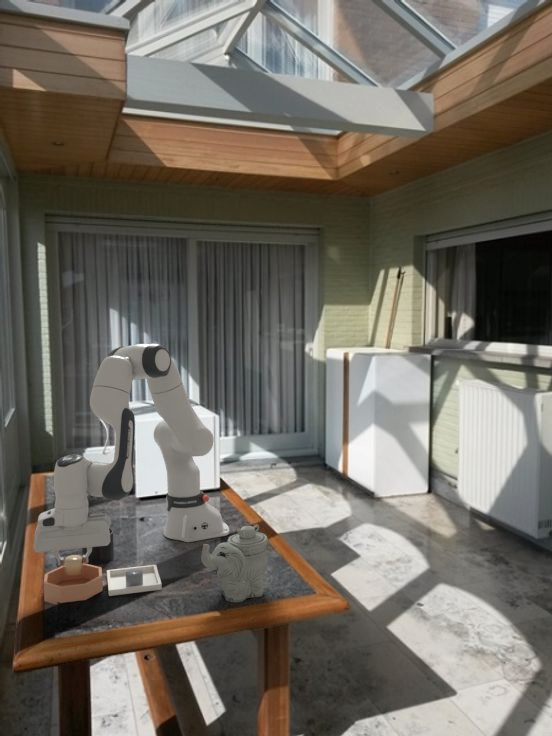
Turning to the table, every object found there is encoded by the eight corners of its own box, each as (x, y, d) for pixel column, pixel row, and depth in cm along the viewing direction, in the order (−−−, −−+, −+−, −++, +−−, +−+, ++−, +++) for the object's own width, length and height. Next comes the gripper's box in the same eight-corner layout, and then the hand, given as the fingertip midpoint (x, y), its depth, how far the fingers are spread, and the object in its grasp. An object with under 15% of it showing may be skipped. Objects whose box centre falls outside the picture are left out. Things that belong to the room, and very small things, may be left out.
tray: (156, 572, 191) (156, 564, 190) (161, 592, 177) (161, 584, 177) (107, 578, 187) (106, 570, 186) (108, 599, 173) (108, 590, 173)
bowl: (101, 578, 187) (101, 561, 186) (103, 601, 172) (102, 582, 172) (46, 584, 182) (45, 567, 182) (43, 608, 168) (42, 590, 168)
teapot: (200, 605, 170) (199, 535, 168) (213, 581, 185) (213, 516, 183) (262, 609, 168) (262, 538, 166) (271, 584, 183) (270, 519, 181)
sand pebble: (82, 568, 183) (82, 554, 182) (82, 574, 178) (82, 560, 178) (65, 569, 181) (65, 555, 181) (64, 576, 177) (64, 561, 177)
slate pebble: (142, 582, 182) (141, 568, 181) (143, 589, 177) (143, 575, 177) (125, 584, 180) (125, 570, 180) (126, 591, 176) (126, 577, 176)
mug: (85, 572, 191) (84, 542, 190) (80, 557, 202) (79, 529, 201) (117, 567, 195) (116, 538, 194) (111, 553, 206) (110, 525, 205)
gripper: (110, 508, 184) (111, 555, 186) (33, 514, 178) (35, 563, 180) (111, 514, 178) (112, 563, 180) (32, 522, 172) (34, 572, 174)
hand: (73, 563), depth 180 cm, fingers open, 5 cm apart
